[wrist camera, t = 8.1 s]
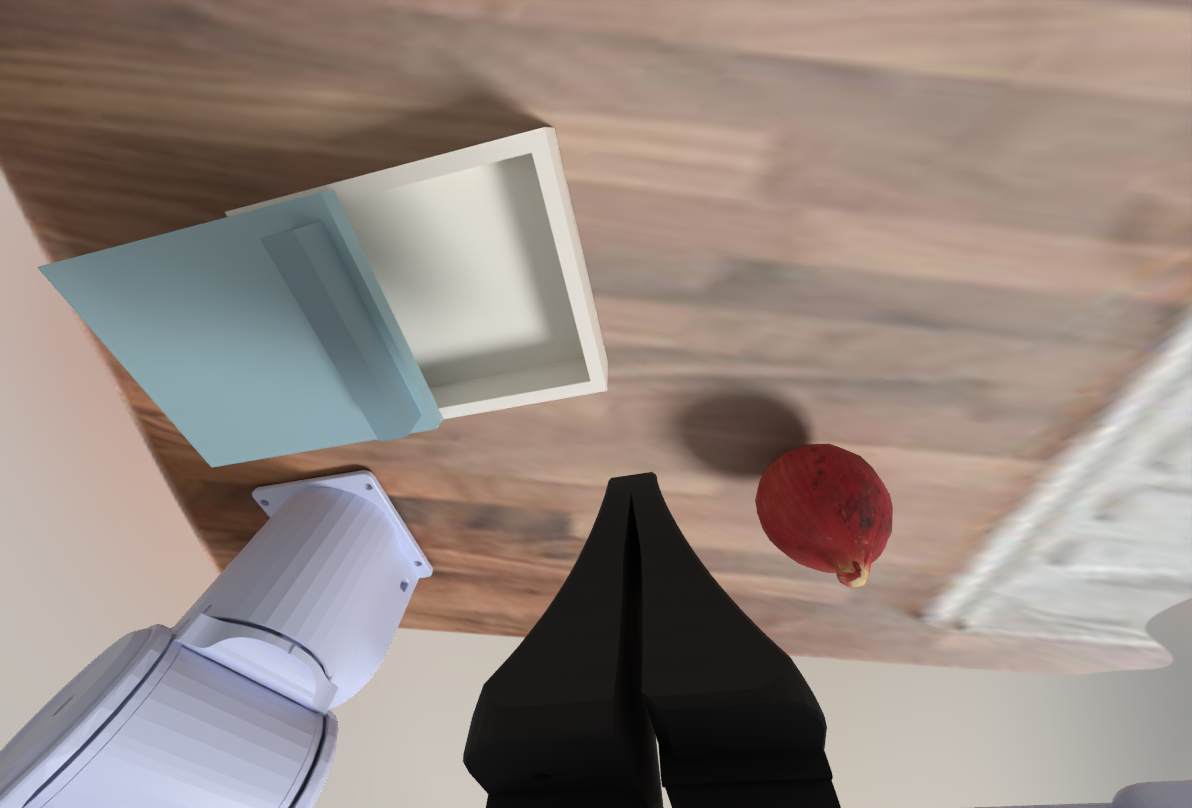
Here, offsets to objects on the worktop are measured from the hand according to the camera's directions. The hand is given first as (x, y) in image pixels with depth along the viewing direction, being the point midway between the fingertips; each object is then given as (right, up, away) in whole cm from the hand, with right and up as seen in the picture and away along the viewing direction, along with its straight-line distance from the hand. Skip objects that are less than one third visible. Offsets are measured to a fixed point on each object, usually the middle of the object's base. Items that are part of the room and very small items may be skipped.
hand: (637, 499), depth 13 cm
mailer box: (-8, +8, +7) cm, 13 cm away
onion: (+10, 0, +12) cm, 15 cm away
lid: (-15, +5, +5) cm, 17 cm away
